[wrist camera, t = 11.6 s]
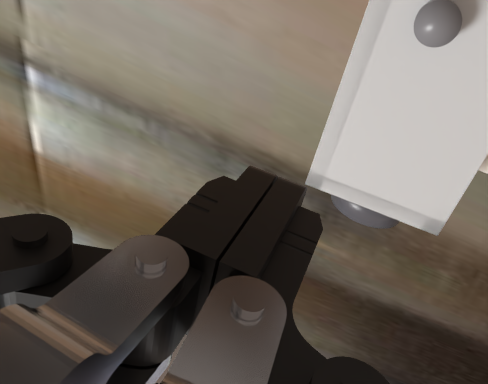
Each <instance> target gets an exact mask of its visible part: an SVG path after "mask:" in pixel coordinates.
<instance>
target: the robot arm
mask: <svg viewBox="0 0 488 384" xmlns="http://www.w3.org/2000/svg"><path fill="white" fill-rule="evenodd" d="M306 190H307V187H305V186H302V185H300V184H297V183H295V182H292V181H289V180H287V179H284V178H282V177H278V176H276V175H274V174H271V173H269V172H266V171H264V170H261V169H258V168H256V167H253V166H249V167H248V168H247V169H246V170H245V171H244V172H243V174H242V175H241V176H240V177H239V178H238V179H237V180H236V181H235V180H233V179H230V178H228V177H225V176H222V177H219V178H217V179H214V180H211V181H209V182H207V183H206V184H205V185H204V186H203V187H202V188H201V189H200V190H199V191H198V192H197V193H196V195H194V196H193V197H192V198H191V199H190V200H189V201H188V203H187V204H185V205H184V206H183V207H182V208H181V209H180V210H179V211H178V212H177V213H176V214H175V215H174V216H173V217H172V218H171V219H170V220H169V221H168V222H167V223H166V224H165V225H164V226H163V227H162V228H161V229H160V230H159V231H158V232H157V233H156V234H155V235H141V236H136V237H133V238H130V239H128V240H126V241H124V242H123V243H121V244H120V245H119V246H117V247H116V248H115V249H114V250H111V249H102V248H97V247H91V246H85V245H80V244H74V243H73V240H72V231H71V229H70V227H69V226H68V225H67V223H65V222H64V221H63V220H61V219H59V218H57V217H54V216H50V215H46V214H24V215H18V216H11V217H4V218H0V384H155V382H156V381H157V380H158V378H159V377H160V376H161V375H162V373H163V372H164V371H165V369H166V368H167V367H168V365H169V363H170V361H171V358H172V353H173V352H174V350H175V349H176V347H177V346H178V344H179V343H180V341H181V340H182V338H183V337H184V335H185V334H186V335H187V337H186V339H185V341H184V342H183V344H182V346H181V348H180V350H179V352H178V354H177V356H176V357H175V359H174V361H173V363H172V365H171V367H170V369H169V371H168V372H167V374H166V376H165V378H164V379H163V381H162V382H161V383H160V384H389V382H388V381H387V380H386V379H385V378H384V377H383V376H382V375H381V374H380V373H379V372H378V371H377V370H376V369H374V368H373V367H371V366H370V365H368V364H366V363H365V362H362V361H360V360H358V359H354V358H351V357H343V356H342V357H333V358H330V359H326V358H325V357H324V356H323V355H321V354H320V353H319V352H318V351H317V350H315V349H314V348H313V347H312V346H311V345H310V344H309V343H308V342H307V341H306V340H305V339H304V338H303V337H302V335H301V334H300V332H299V331H298V329H297V327H296V325H295V322H294V319H293V314H292V307H293V302H294V299H295V297H296V294H297V292H298V290H299V287H300V285H301V282H302V280H303V277H304V275H305V272H306V270H307V267H308V265H309V262H310V260H311V258H312V255H313V253H314V250H315V248H316V245H317V243H318V240H319V238H320V235H321V233H322V230H323V227H322V223H321V219H320V215H319V214H318V213H315V212H313V211H310V210H308V209H305V208H303V207H301V205H302V202H303V199H304V196H305V193H306ZM156 384H158V383H156Z"/></svg>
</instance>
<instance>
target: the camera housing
mask: <svg viewBox="0 0 488 384" xmlns="http://www.w3.org/2000/svg"><path fill="white" fill-rule="evenodd" d="M487 154H488V0H369V3H368V6H367V9H366V11H365V14H364V17H363V20H362V23H361V26H360V29H359V31H358V34H357V37H356V40H355V43H354V46H353V49H352V51H351V54H350V57H349V60H348V63H347V66H346V69H345V71H344V74H343V77H342V80H341V83H340V86H339V89H338V91H337V94H336V97H335V100H334V103H333V106H332V109H331V111H330V114H329V117H328V120H327V123H326V126H325V129H324V131H323V134H322V137H321V140H320V143H319V146H318V149H317V151H316V154H315V157H314V160H313V163H312V166H311V169H310V171H309V174H308V177H307V180H306V183H305V184H306V185H309V186H311V187H314V188H317V189H319V190H322V191H324V192H327V193H329V194H331V199H332V201H333V203H334V205H335V206H336V208H337V209H338V210H339V211H340V212H341V213H343V214H344V215H345V216H347V217H348V218H350V219H352V220H354V221H355V222H358V223H360V224H363V225H366V226H369V227H374V228H391V227H394V226H395V225H397V224H398V223H399V221H401V222H404V223H406V224H409V225H411V226H414V227H416V228H419V229H421V230H424V231H427V232H429V233H432V234H434V235H437V236H438V234H439V233H440V231H441V229H442V228H443V226H444V225H445V223H446V221H447V220H448V218H449V216H450V215H451V213H452V211H453V210H454V208H455V207H456V205H457V203H458V202H459V200H460V198H461V197H462V195H463V193H464V192H465V190H466V189H467V187H468V185H469V184H470V182H471V180H472V179H473V177H474V176H475V174H476V172H477V171H478V169H479V167H480V166H481V164H482V162H483V161H484V159H485V158H486V156H487Z"/></svg>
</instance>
